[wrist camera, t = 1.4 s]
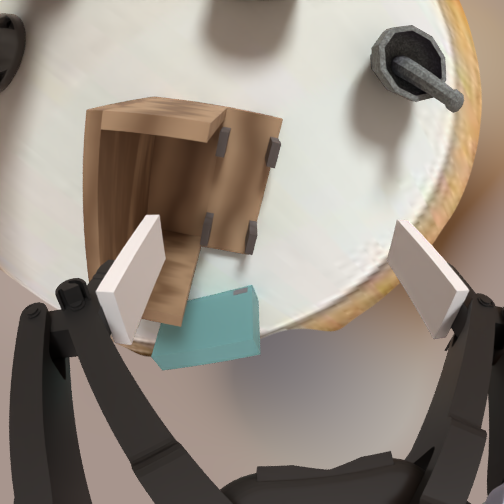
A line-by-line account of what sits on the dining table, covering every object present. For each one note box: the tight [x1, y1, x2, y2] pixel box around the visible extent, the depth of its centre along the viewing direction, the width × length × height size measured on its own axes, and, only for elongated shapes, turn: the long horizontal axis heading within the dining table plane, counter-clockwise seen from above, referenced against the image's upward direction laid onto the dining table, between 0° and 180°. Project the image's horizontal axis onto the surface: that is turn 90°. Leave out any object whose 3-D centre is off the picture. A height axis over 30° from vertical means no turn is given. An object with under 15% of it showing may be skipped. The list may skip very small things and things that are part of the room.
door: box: [151, 285, 260, 370], centre depth 47 cm, size 5×16×12 cm, turn 107°
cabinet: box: [83, 97, 283, 327], centre depth 32 cm, size 17×20×18 cm
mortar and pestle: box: [371, 25, 464, 113], centre depth 26 cm, size 11×9×12 cm
